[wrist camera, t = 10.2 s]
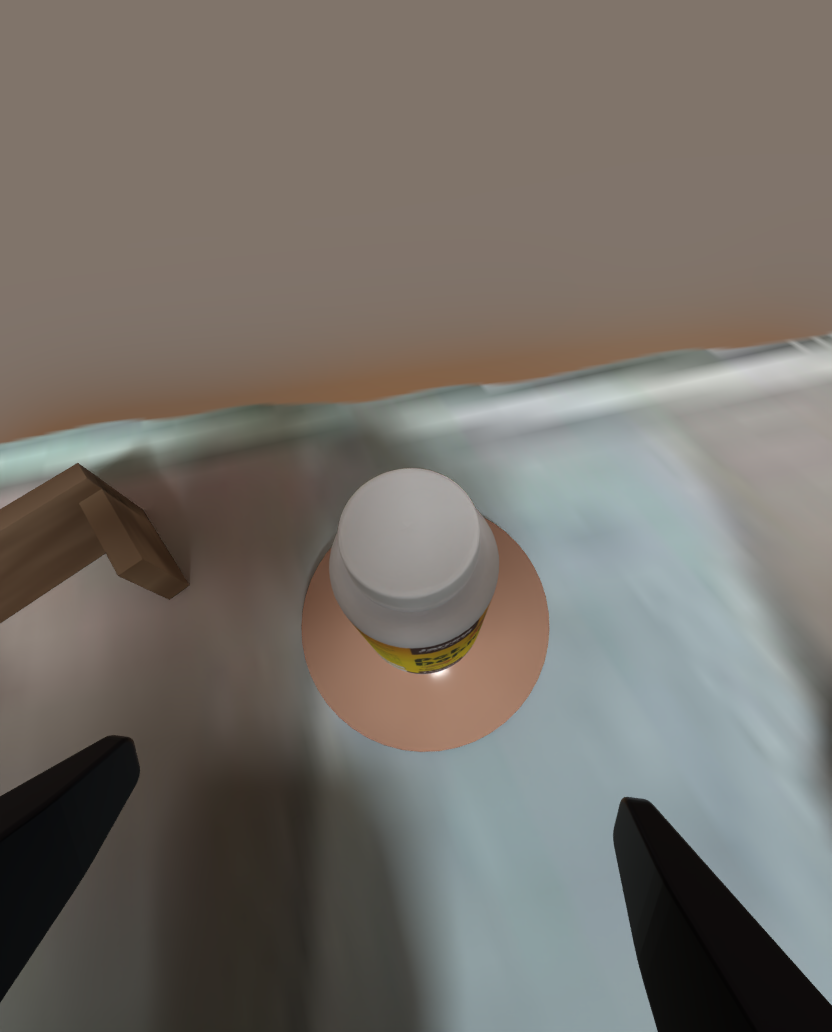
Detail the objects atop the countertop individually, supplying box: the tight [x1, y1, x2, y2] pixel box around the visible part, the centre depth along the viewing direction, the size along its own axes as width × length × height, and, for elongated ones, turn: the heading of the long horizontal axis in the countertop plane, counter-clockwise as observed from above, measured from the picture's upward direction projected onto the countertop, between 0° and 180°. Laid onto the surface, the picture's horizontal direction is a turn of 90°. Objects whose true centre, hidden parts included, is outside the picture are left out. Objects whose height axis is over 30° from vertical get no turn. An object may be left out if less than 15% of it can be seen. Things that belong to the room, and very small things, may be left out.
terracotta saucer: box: [302, 518, 549, 752], centre depth 21 cm, size 12×12×1 cm
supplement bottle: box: [329, 468, 499, 674], centre depth 16 cm, size 6×6×10 cm
